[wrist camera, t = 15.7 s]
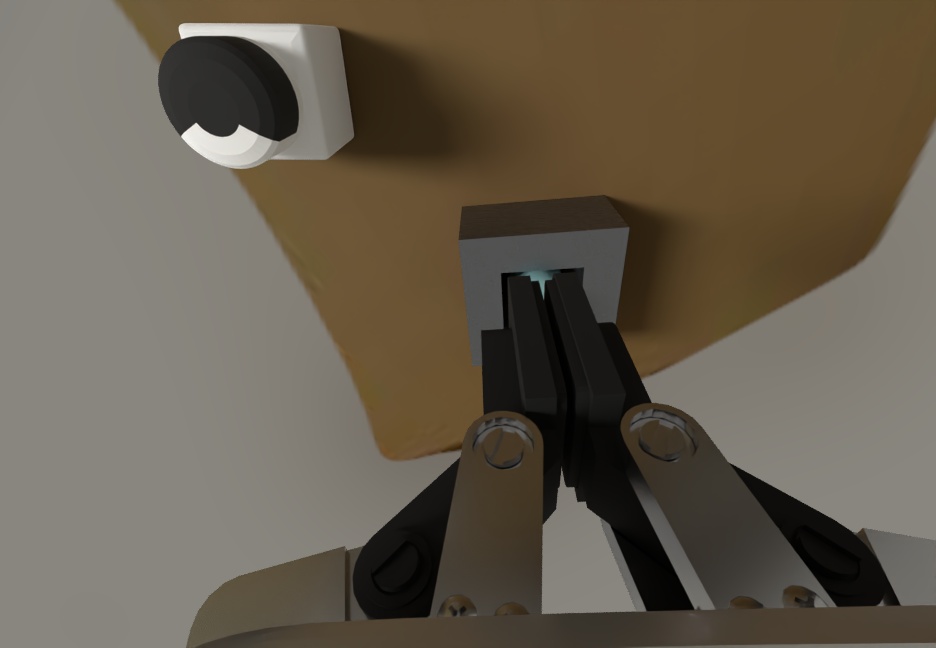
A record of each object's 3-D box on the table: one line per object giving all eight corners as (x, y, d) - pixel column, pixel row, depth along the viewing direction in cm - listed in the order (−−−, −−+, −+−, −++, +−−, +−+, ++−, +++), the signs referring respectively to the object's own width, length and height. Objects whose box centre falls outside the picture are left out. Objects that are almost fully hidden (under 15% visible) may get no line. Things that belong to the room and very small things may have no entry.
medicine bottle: (236, 25, 28) (106, 20, 18) (339, 26, 28) (264, 20, 18) (266, 137, 32) (172, 182, 22) (356, 138, 32) (301, 183, 22)
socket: (462, 206, 35) (458, 240, 29) (604, 195, 34) (629, 227, 28) (473, 321, 42) (472, 366, 36) (592, 313, 41) (610, 358, 35)
